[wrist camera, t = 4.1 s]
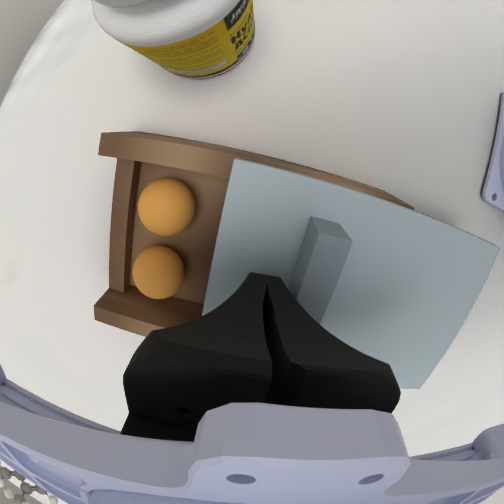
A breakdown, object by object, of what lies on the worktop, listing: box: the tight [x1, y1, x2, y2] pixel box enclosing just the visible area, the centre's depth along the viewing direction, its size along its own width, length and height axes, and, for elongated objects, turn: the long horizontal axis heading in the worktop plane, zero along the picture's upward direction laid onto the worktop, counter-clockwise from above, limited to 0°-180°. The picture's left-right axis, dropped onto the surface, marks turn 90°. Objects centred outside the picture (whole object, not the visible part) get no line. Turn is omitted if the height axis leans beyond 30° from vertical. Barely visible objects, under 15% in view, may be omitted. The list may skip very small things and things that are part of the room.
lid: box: [202, 158, 500, 389], centre depth 12 cm, size 14×10×3 cm
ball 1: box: [138, 178, 195, 236], centre depth 14 cm, size 3×3×3 cm
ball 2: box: [133, 246, 185, 299], centre depth 15 cm, size 3×3×3 cm
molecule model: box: [0, 461, 58, 504], centre depth 34 cm, size 20×16×16 cm
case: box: [94, 132, 414, 337], centre depth 15 cm, size 14×10×4 cm
